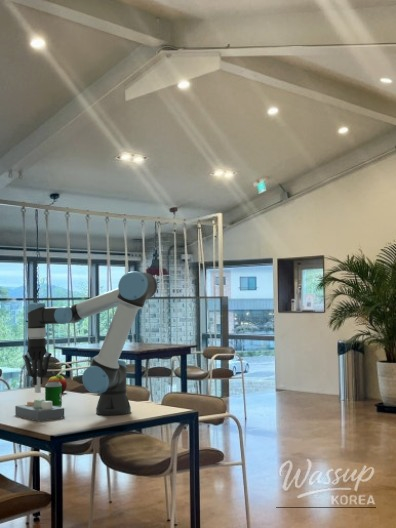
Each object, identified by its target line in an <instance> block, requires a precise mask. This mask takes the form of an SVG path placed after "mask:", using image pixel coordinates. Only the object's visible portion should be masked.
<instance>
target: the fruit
mask: <svg viewBox="0 0 396 528" xmlns="http://www.w3.org/2000/svg"><path fill="white" fill-rule="evenodd" d="M66 380H67V379H66V378H65V377H64V376H63V375H60V374H57V375H53V376H51V377H49V379H48V380H47V383H48V382H60V383H61V384H62V394H63V393H65V391H66V390H67V386H68V385H67V381H66ZM47 383H46V384H47Z"/></svg>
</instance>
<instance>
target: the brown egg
mask: <svg viewBox="0 0 396 528" xmlns="http://www.w3.org/2000/svg"><path fill="white" fill-rule="evenodd" d="M26 405H27V406H29V407H30V406H34V400H32V401H31V400H30V401H27V402H26Z"/></svg>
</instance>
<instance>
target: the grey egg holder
mask: <svg viewBox="0 0 396 528" xmlns="http://www.w3.org/2000/svg"><path fill="white" fill-rule="evenodd" d="M14 411H15V412H14V413H15V416H17V417H21V418H25V419H27V420H32V421H36V422H44V421H50V420H57V419H65V408H64V407H62V406H61V407H56V406H52V409H50V410H42V408H34V406H30V407H29V406H27V404H22V405H21V404H20V405H15V410H14Z"/></svg>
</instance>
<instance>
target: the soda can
mask: <svg viewBox="0 0 396 528" xmlns="http://www.w3.org/2000/svg"><path fill="white" fill-rule="evenodd" d="M47 382H48V381H47ZM44 390H45V392H44V400H45V401H52V406H56V407H61V408H62V405H63V403H62V402H63V399H62V397H63V393H62V384H61V383H60V382H48V383H46V384H45V385H44Z"/></svg>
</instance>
